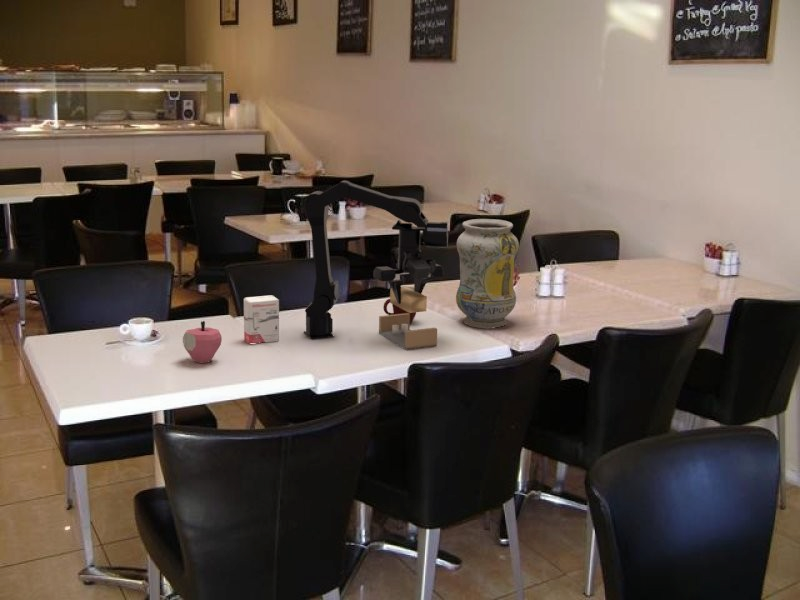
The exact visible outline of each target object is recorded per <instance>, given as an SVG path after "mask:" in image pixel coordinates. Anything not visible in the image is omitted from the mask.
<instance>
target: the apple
mask: <svg viewBox="0 0 800 600" xmlns="http://www.w3.org/2000/svg"><path fill="white" fill-rule="evenodd" d="M222 339H223V338H222V334H221V333H220V329H217V328H213V327H208V326H207V327H206V321H205V320H203V321H201V322H200V327H196V328H192V329H188V330H186V331H185V332H184V334H183V336H182V345H183V347H184V349H185V351H186V353H188V354H189V357H190V358H191V360H194V361H193V362H195V363H198V362H205V363H209V362H208V361H210V362H211V361H212V359H214V357H215V355H216V353H217V352H218V350H219V348H220V346H221V345H222Z"/></svg>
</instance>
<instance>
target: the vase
mask: <svg viewBox="0 0 800 600" xmlns="http://www.w3.org/2000/svg"><path fill="white" fill-rule="evenodd" d="M513 227H514V224H513V223H512V222H510V221H507V220H503V219H493V218H492V219H491V218H476V219H469V220H466V221H463V222H462V228H464V231H463V232H462V233H460V235H459V236H458V238H457V240H456V249H457V253H458V255H459V271H460V273H459V275H460V276H459V277H460V278H459V285H458V286H459V287H458V288H457V291H456V294H455V301H456V305H457V307H458V309H459V311H461V313H463V314H464V315H465V317H464V319H463V320H462V321H463V323H464V324H465V325H467V326H469V327H472V328H477V329H478V328H479V329H488V330H490V329H489V328H492V327H499V328H501V327H500V326H503V327H505V326H506V325H507V324H508V321H507V320H506V318H507V316H509V314H510V313H512V311H513V310H514V309H515V307H516V303H517V295H516V292H515V289H514V271H515V270H514V269H515V258H516V256H517V254H518V252H519V246H520V243H519V240H518V238H517V236H516V235H514V234H513V232H511V230H512V229H513ZM504 325H505V326H504ZM492 329H493V328H492Z"/></svg>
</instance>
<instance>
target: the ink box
mask: <svg viewBox="0 0 800 600" xmlns="http://www.w3.org/2000/svg"><path fill="white" fill-rule="evenodd" d="M243 333H244V335H243V336H244V337H243V338H244V341H245V342H246V343H247V342H248V343H247V344H249V343H258V344H260V343H259V342H267V343H274V342H279V341H280V299H278V298H277V297H275V295H272V294H271V295H261V296H260V295H259V296H247V297H244V298H243Z"/></svg>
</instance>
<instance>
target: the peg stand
mask: <svg viewBox="0 0 800 600" xmlns="http://www.w3.org/2000/svg"><path fill="white" fill-rule="evenodd" d="M378 321H379V322H378V334H379V335H381V336H383V337H384V338H386V339H387V338H388V339H387V340H389V341H391V342H392V341H393V342H392V343H394V344H396V345H397V344H398V345H397V346H399V347H401V348H402V347H403V350H406V351H412V350H419V349H426V348H429V349H430V348H436V347H435V346H438V344H437V343H438V328H437V327H429V328H428V327H427V328H419V329H418V328H417V329H410V327H411V326H410V314H409V313H404V314H395V315H388V314H386V315H379V317H378Z"/></svg>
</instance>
